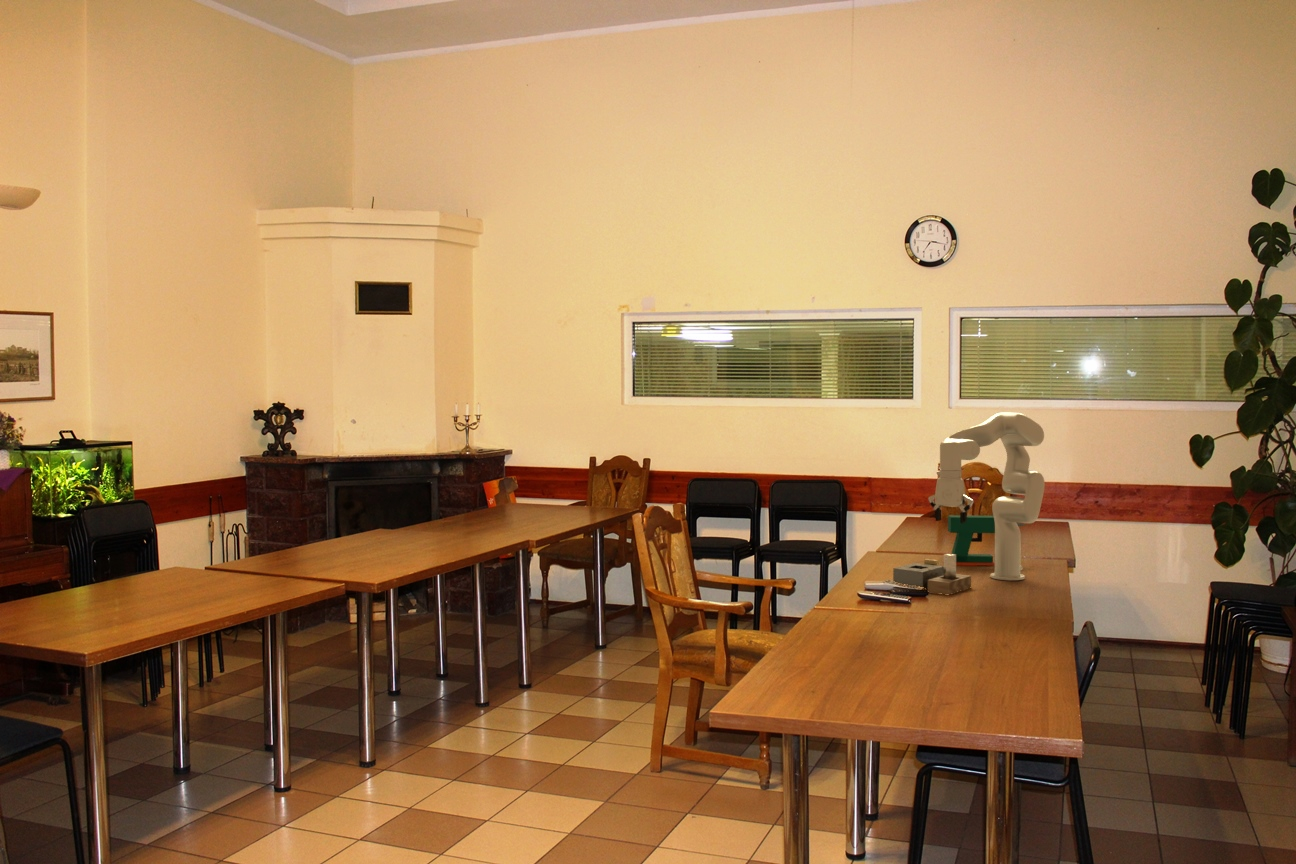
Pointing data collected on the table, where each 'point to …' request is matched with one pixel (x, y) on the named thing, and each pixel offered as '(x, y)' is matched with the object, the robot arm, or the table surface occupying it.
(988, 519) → the power tool
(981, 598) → the table surface
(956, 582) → the block
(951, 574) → the cream post
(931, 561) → the drift key
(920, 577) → the socket block
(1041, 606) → the table surface
